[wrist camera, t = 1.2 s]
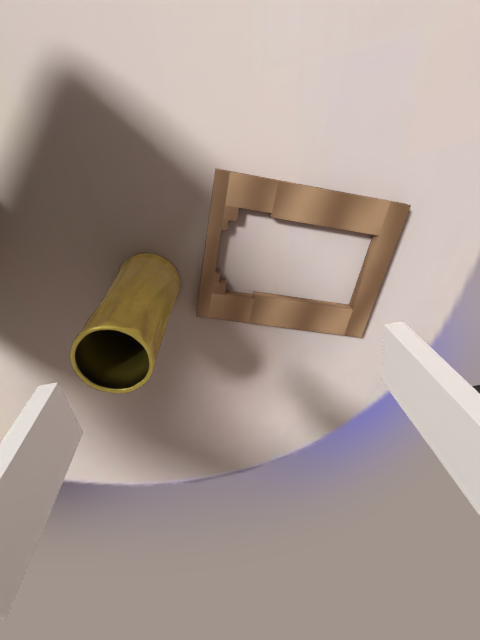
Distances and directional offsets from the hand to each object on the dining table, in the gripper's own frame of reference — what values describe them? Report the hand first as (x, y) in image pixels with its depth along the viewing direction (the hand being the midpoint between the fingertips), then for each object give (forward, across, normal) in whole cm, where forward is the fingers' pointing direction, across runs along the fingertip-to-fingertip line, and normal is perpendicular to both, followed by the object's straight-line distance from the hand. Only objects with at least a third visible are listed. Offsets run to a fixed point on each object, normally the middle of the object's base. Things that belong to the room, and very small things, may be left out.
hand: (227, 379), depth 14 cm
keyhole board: (+22, +8, -3) cm, 23 cm away
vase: (+22, -7, -3) cm, 23 cm away
